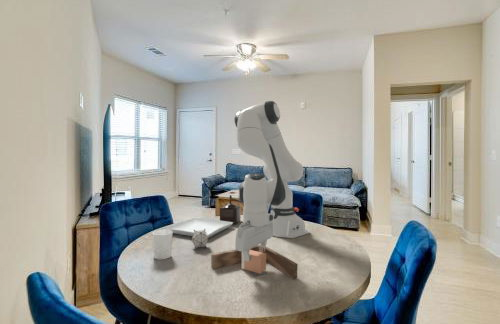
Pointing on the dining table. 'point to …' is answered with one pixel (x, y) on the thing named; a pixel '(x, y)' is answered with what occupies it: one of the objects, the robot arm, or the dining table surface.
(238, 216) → the dark brown coffee grinder
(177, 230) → the square plate
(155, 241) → the white cup
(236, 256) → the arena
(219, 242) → the dining table surface
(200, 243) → the game die
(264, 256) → the block
